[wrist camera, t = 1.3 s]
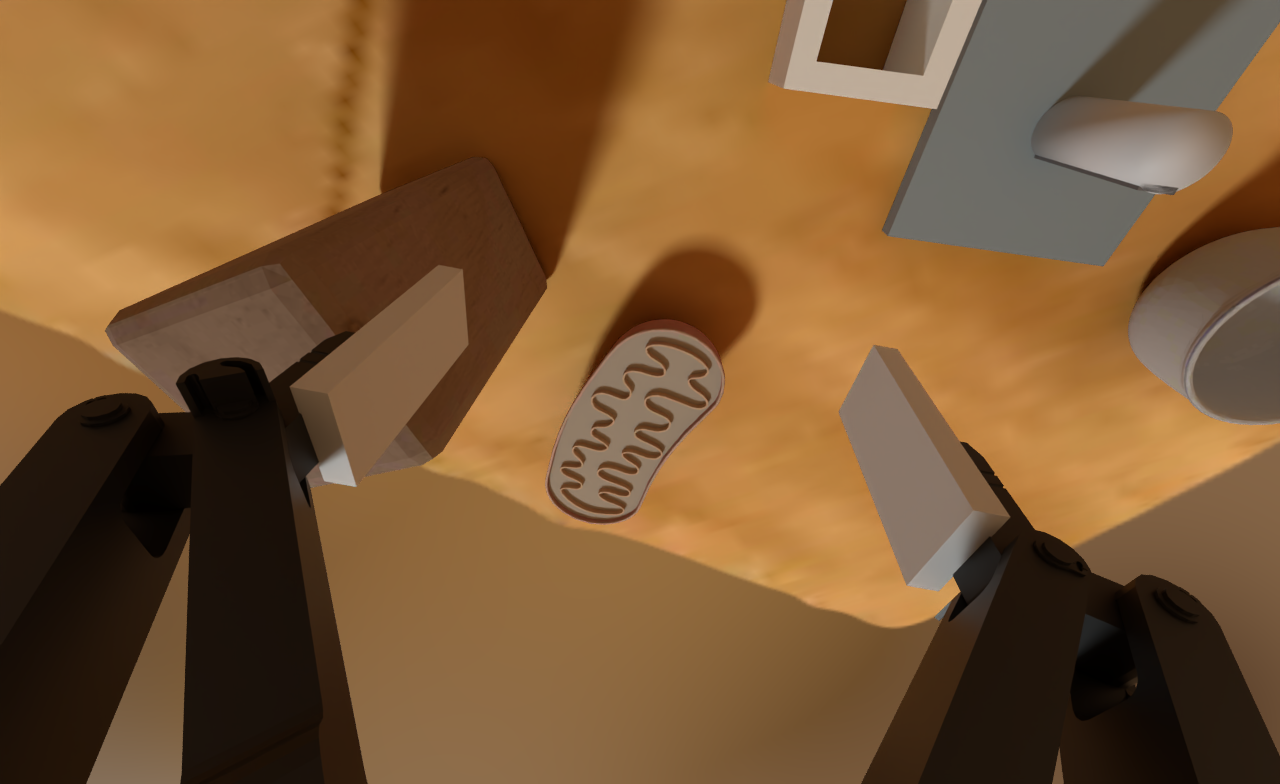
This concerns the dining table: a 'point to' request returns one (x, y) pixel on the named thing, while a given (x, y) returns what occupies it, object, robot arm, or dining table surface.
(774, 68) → the white square sleeve
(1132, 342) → the teacup
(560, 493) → the anatomical model
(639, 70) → the dining table surface
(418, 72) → the dining table surface
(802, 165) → the dining table surface
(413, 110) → the dining table surface
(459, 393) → the wooden block
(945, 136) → the board
